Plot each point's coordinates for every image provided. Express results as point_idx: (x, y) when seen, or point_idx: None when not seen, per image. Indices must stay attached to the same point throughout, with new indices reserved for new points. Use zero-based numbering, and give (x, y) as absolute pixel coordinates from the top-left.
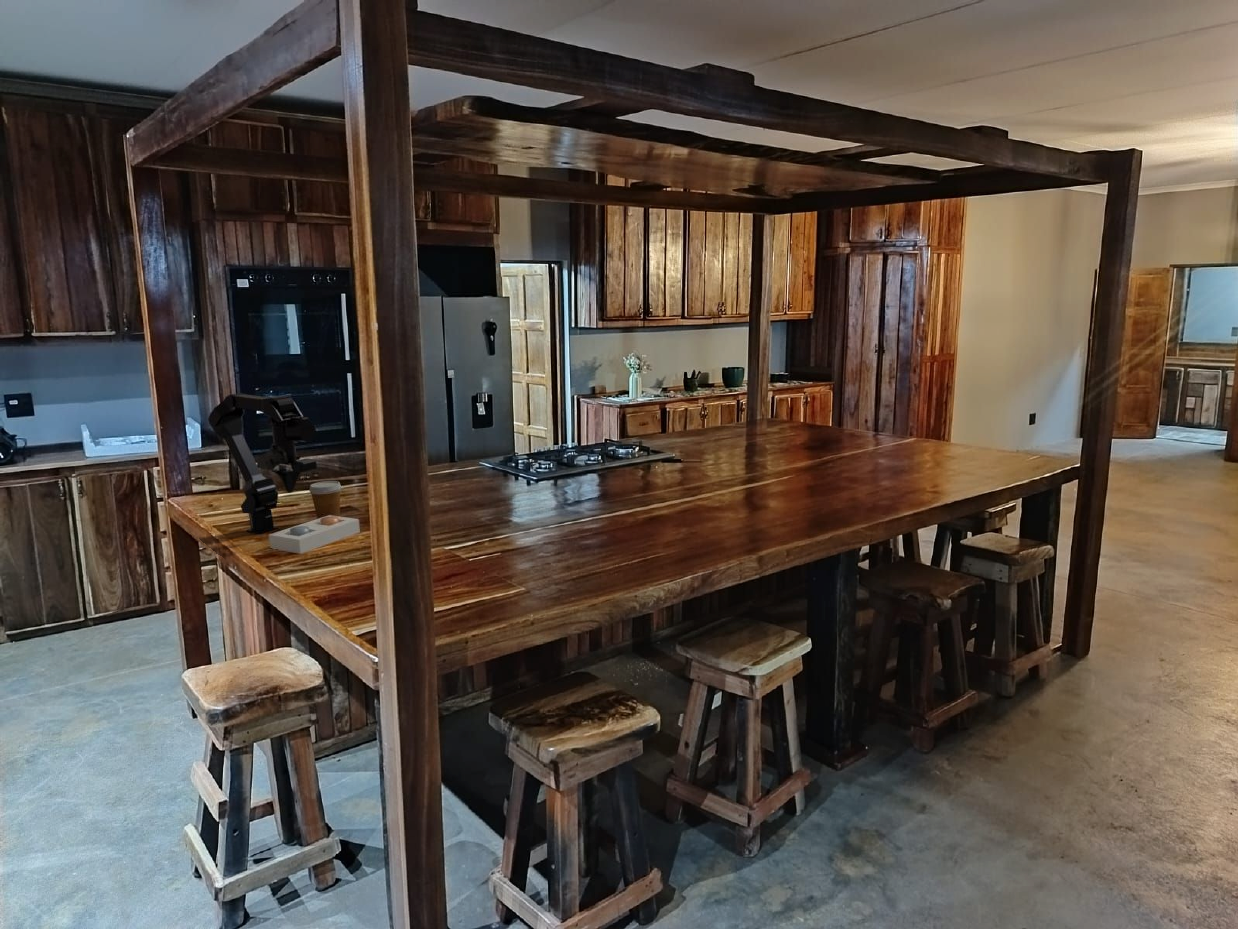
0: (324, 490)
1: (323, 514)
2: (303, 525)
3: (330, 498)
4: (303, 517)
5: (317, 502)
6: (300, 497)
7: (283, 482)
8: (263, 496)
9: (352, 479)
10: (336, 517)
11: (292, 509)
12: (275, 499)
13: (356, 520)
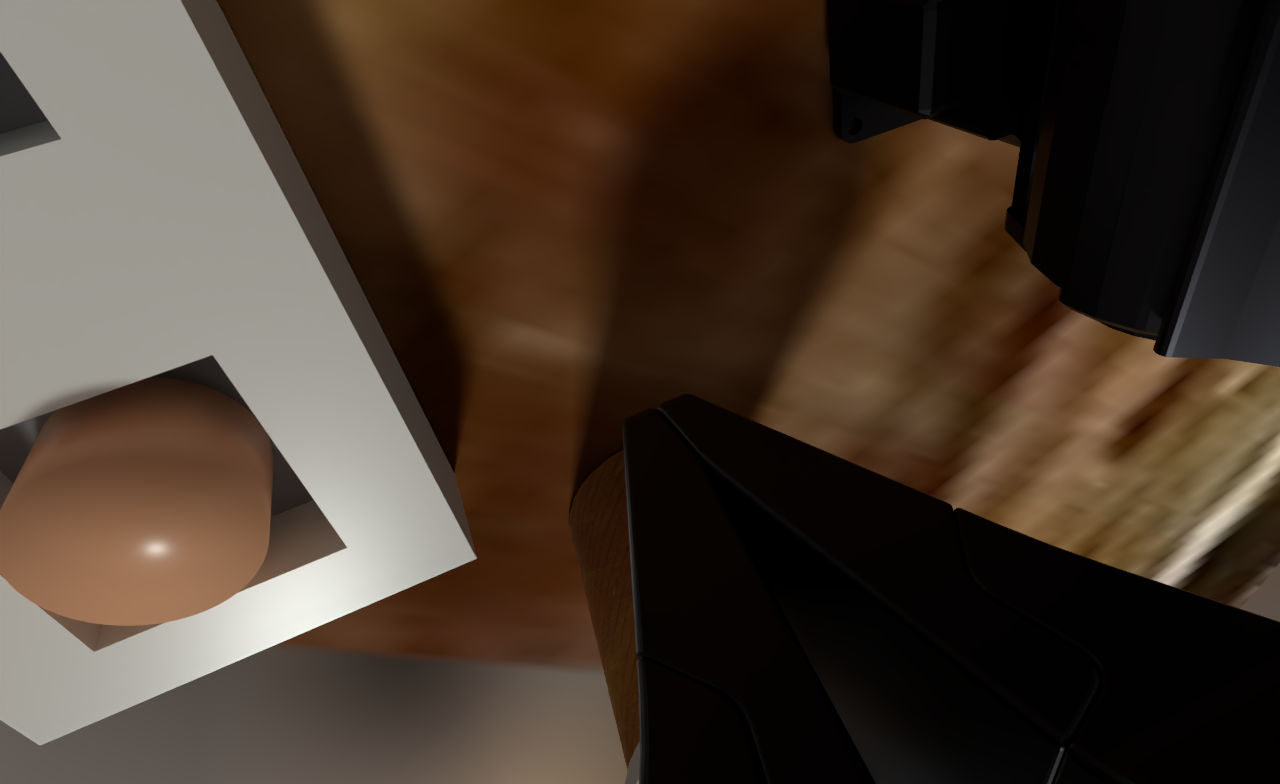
0: None
1: (622, 521)
2: (198, 225)
3: (620, 702)
4: (898, 401)
5: None
6: (1182, 492)
7: (905, 518)
8: (1184, 27)
9: None
10: (147, 612)
11: (1088, 403)
12: (1039, 237)
13: (18, 724)
